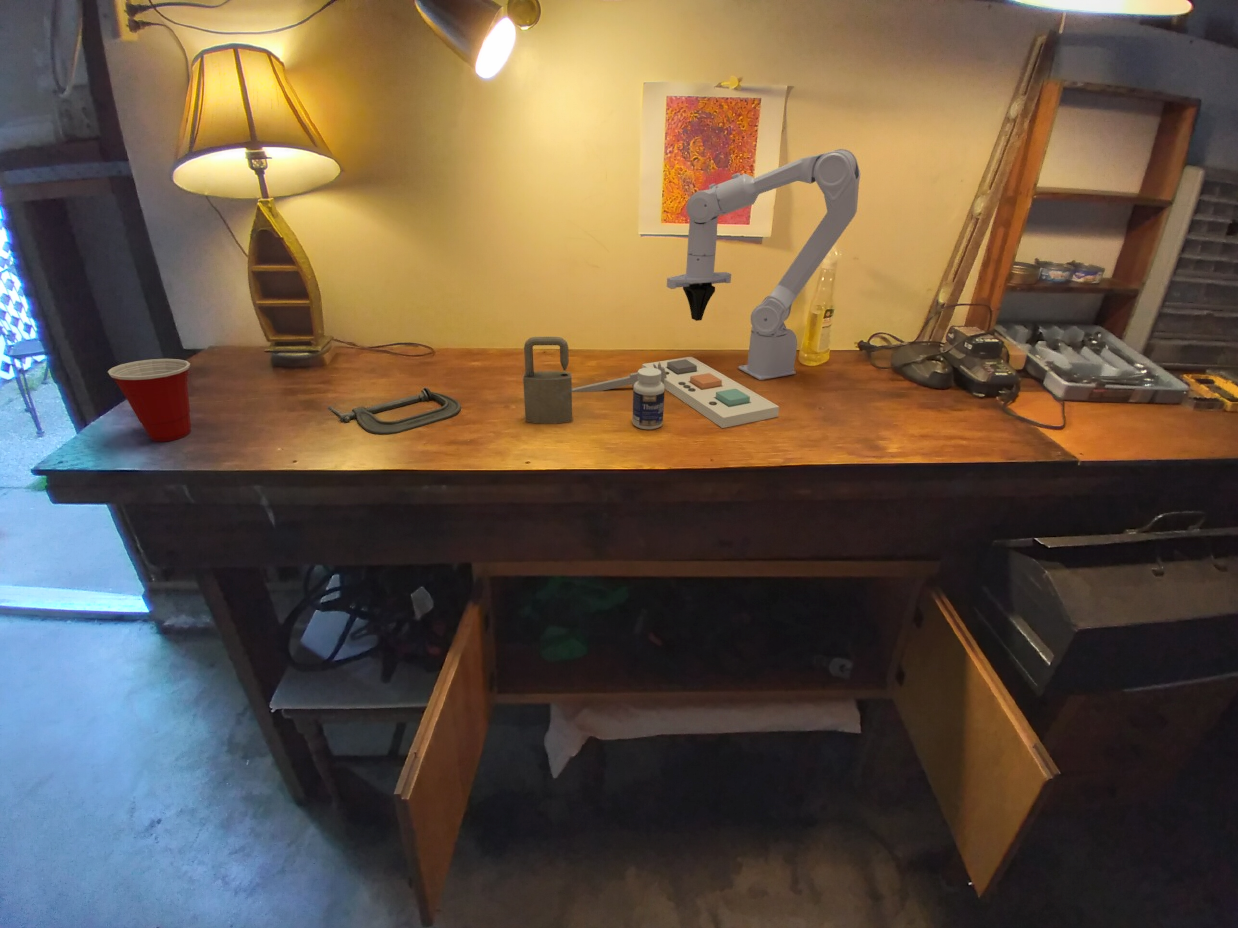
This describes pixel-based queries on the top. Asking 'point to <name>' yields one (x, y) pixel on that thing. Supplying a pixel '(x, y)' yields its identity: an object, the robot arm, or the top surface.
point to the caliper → (617, 382)
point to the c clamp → (393, 427)
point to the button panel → (707, 398)
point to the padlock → (547, 386)
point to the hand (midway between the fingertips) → (696, 319)
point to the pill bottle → (648, 399)
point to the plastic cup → (157, 395)
